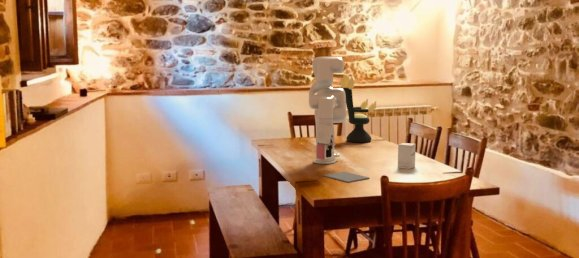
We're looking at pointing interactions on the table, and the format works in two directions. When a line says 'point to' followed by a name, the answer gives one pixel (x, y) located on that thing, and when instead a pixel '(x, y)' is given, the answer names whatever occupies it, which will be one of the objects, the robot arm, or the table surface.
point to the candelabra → (357, 119)
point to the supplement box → (406, 155)
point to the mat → (346, 177)
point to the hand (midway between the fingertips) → (325, 155)
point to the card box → (322, 151)
